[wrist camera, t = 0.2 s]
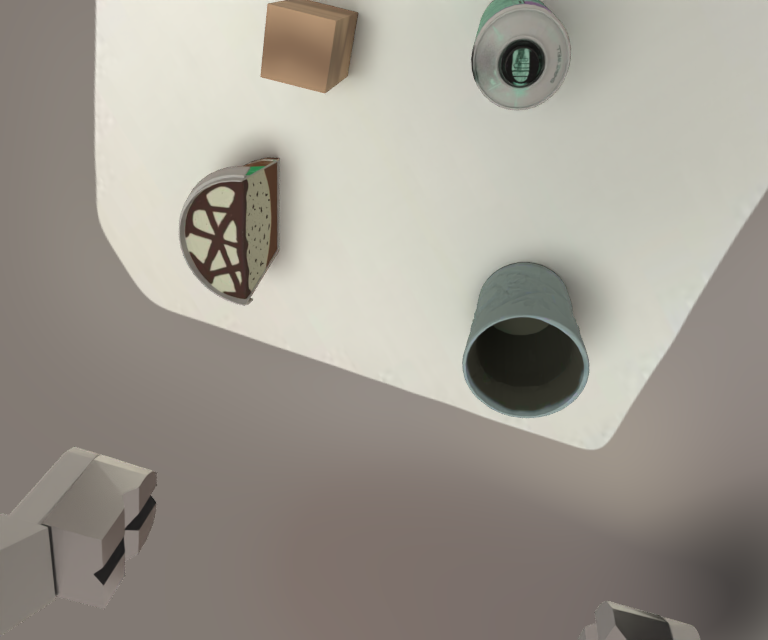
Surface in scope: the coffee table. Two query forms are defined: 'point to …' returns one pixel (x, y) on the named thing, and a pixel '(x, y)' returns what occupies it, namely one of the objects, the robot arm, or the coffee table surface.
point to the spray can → (520, 54)
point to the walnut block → (307, 44)
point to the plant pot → (525, 344)
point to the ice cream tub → (232, 228)
